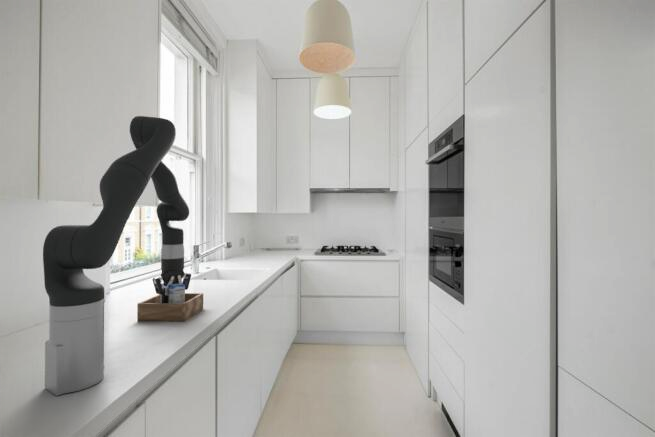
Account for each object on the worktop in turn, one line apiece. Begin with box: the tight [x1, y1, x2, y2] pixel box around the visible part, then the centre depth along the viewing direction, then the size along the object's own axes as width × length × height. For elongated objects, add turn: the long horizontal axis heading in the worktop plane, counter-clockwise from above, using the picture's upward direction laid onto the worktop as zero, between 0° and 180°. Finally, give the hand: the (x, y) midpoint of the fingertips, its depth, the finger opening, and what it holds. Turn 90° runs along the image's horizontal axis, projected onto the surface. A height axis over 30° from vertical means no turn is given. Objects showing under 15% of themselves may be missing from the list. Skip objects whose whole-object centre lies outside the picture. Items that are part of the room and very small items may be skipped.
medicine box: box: [160, 282, 186, 303], centre depth 118 cm, size 8×4×9 cm, turn 62°
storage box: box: [137, 292, 204, 323], centre depth 118 cm, size 16×16×6 cm
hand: (172, 303), depth 118 cm, fingers closed on medicine box, 4 cm apart
